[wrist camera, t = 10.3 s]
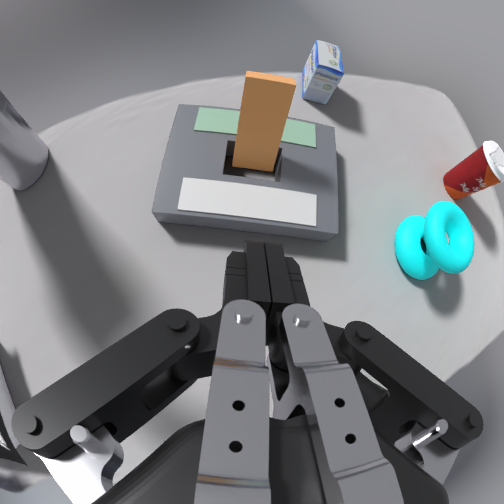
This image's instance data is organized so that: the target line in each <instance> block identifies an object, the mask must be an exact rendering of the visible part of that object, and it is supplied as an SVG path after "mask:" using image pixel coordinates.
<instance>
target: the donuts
mask: <svg viewBox="0 0 504 504" xmlns="http://www.w3.org/2000/svg"><path fill="white" fill-rule="evenodd" d="M445 231H446V233H447V235H448V237H449V243H448V241H447V238H446V233H445ZM421 238H422V239H423V240H424V242H425V245H426V254H425V253H424V252H423V250H422V248H421V243H420V242H421ZM395 252H396V256H397V259H398V261H399V263H400V265H401V267H402V268H403V270H404V271H405V272H406V273H407V274H408V275H410V276H411V277H413V278H415V279H419V280H424V279H428V278H430V277H432V276H433V275H435V274H436V272H437V271H438V270H439V268H440V269H441V270H443V271H445V272H447V273H450V274H456V273H460V272H462V271H464V270H465V269H466V268H467V267H468V265H469V264H470V262H471V260H472V257H473V253H474V235H473V231H472V227H471V224H470V222H469V220H468V218H467V216H466V215H465V213H464V212H463V211H462V210H461V209H460V208H459V207H458V206H457V205H456V204H454V203H452V202H449V201H440V202H437V203H436V204H434V205H433V206H432V207H431V208H430V209H429V211H428V213H427V215H426V218H425V217H422V216H417V215H415V216H410V217H408V218H406V219H404V220H403V221H402V222H401V224H400V225H399V227H398V229H397V231H396V235H395Z"/></svg>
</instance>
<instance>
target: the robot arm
mask: <svg viewBox="0 0 504 504" xmlns="http://www.w3.org/2000/svg"><path fill="white" fill-rule="evenodd" d="M47 160H48V148H47V146H46V144H45V143H44V142H43V141H42V140H41V139H40V137H39V136H38V135H37V134H36V133H35V132H34V130H33V129H32V128H31V127H30V126H29V125H28V123H27V122H26V121H25V120H24V119H23V117H22V116H21V115H20V114H19V113H18V111H17V110H16V109H15V108H14V106H13V105H12V104H11V103H10V101H9V100H8V99H7V98H6V96H5V95H4V94H3V93H2V91H1V90H0V179H1V180H2V181H4V182H5V183H6V184H8V185H9V186H11V187H12V188H13V189H15V190H20V191H21V190H25V189H27V188H29V187H30V186H31V185H33V184H34V183H35V182H36V181H37V180H38V178H39V177H40V175H41V174H42V172H43V171H44V169H45V166H46V164H47ZM265 346H268V347H269V354H268V357H267V361H266V363H267V366H266V365H265ZM361 369H364V370H365V371H366V372H367V373H369V374H370V375H371V376H372V377H374V378H375V379H376V380H377V381H378V382H380V383H381V384H382V385H383V386H385V387H386V388H387V389H388V390H387V391H385V390H382V389H380V388H379V387H378V386H377V385H375V384H374V383H373V382H372V381H371V380H369V379H368V378H367V377H366V376H364V375H363V374H362V373H361V372H360V370H361ZM208 376H212V377H211V384H210V391H209V398H208V404H207V411H206V418H205V419H204V420H200V421H196V422H193V423H191V424H188V425H186V426H185V427H183V428H181V429H179V430H178V431H177V432H175V433H174V434H173V435H172V436H170V437H169V438H168V439H167V440H166V441H165V442H164V443H163V444H162V445H161V446H160V447H159V448H157V449H156V450H155V451H154V452H153V453H152V454H151V455H150V456H148V457H147V458H146V459H145V460H144V461H143V462H142V463H140V464H139V465H138V466H137V467H136V468H135V469H133V470H132V471H131V472H130V473H129V474H128V475H126V476H125V477H124V478H123V479H122V480H120V481H119V482H118V483H117V484H115V485H114V486H113V483H112V480H113V476H114V473H115V472H116V471H117V469H118V468H119V467H120V466H121V465H122V463H123V459H124V453H123V449H122V446H121V445H120V443H121V442H122V441H123V440H125V439H126V438H127V437H129V436H130V435H131V434H133V433H134V432H135V431H136V430H138V429H139V428H140V427H142V426H143V425H144V424H145V423H147V422H148V421H149V420H150V419H152V418H153V417H154V416H155V415H156V414H158V413H159V412H160V411H161V410H163V409H164V408H165V407H166V406H167V405H169V404H170V403H171V402H172V401H173V400H175V399H176V398H177V397H178V396H179V395H181V394H182V393H183V392H184V391H185V390H186V389H188V388H189V387H190V386H191V385H192V384H193V383H194V382H195V381H196V380H197V379H198V378H203V377H208ZM269 381H270V386H271V392H272V398H273V404H274V410H273V418H270V417H269ZM11 426H12V431H13V434H14V436H15V438H16V439H17V441H18V442H19V443H20V444H21V445H23V446H24V447H26V448H27V449H29V450H30V451H32V452H34V453H35V454H36V455H37V456H39V457H40V458H41V459H42V460H43V462H44V463H45V465H46V466H47V468H48V469H49V471H50V472H51V474H52V475H53V477H54V478H55V479H56V481H57V482H58V483H59V485H60V486H61V487H62V489H63V490H64V491H65V493H66V494H67V495H68V496H69V498H70V499H71V500H72V501H73V503H74V504H449V498H448V495H447V492H446V490H445V488H444V487H443V483H444V481H445V479H446V477H447V475H448V473H449V471H450V469H451V467H452V465H453V463H454V461H455V458H456V456H457V454H458V452H459V450H460V448H462V447H463V446H465V445H466V444H468V443H470V442H471V441H473V440H474V439H476V438H477V437H479V436H480V434H481V433H482V430H483V419H482V416H481V414H480V412H479V411H478V410H477V409H476V408H475V407H474V406H473V405H471V404H470V403H469V402H468V401H466V400H465V399H464V398H463V397H461V396H460V395H459V394H457V393H456V392H455V391H454V390H453V389H451V388H450V387H449V386H448V385H446V384H445V383H444V382H443V381H441V380H440V379H439V378H438V377H436V376H435V375H434V374H432V373H431V372H430V371H429V370H427V369H426V368H425V367H424V366H422V365H421V364H420V363H418V362H417V361H416V360H415V359H413V358H412V357H411V356H410V355H408V354H407V353H406V352H404V351H403V350H402V349H401V348H399V347H398V346H397V345H395V344H394V343H393V342H392V341H390V340H389V339H388V338H386V337H385V336H384V335H382V334H381V333H380V332H379V331H377V330H376V329H375V328H373V327H372V326H371V325H369V324H367V323H365V322H362V321H352V322H350V323H348V324H347V325H346V327H345V329H344V328H340V327H337V326H333V325H330V324H327V323H325V322H323V321H322V318H321V316H320V314H319V313H318V312H317V311H316V310H315V309H313V308H312V307H310V303H309V299H308V295H307V292H306V288H305V285H304V282H303V277H302V275H301V270H300V267H299V265H298V263H297V262H296V261H295V260H294V259H293V258H292V257H284V253H283V248H282V245H281V244H272V243H264V244H263V243H262V242H253V241H246V242H245V247H244V252H235V251H232V252H231V254H230V255H229V256H228V257H227V262H226V270H225V279H224V288H223V305H222V309H221V310H220V311H219V312H217V313H216V314H214V315H212V316H208V317H203V318H197V317H196V316H195V315H194V314H192V313H191V312H189V311H187V310H184V309H170V310H166V311H164V312H162V313H161V314H159V315H158V316H156V317H155V318H153V319H151V320H150V321H148V322H147V323H145V324H144V325H142V326H141V327H139V328H138V329H136V330H135V331H133V332H132V333H130V334H129V335H127V336H126V337H124V338H122V339H121V340H119V341H118V342H116V343H115V344H113V345H112V346H110V347H109V348H107V349H106V350H104V351H103V352H101V353H99V354H98V355H96V356H95V357H93V358H92V359H90V360H89V361H87V362H86V363H84V364H83V365H81V366H80V367H78V368H77V369H75V370H73V371H72V372H70V373H69V374H67V375H66V376H64V377H63V378H61V379H60V380H58V381H57V382H55V383H54V384H52V385H50V386H49V387H47V388H46V389H44V390H43V391H41V392H40V393H38V394H37V395H35V396H34V397H32V398H30V399H29V400H27V401H26V402H24V403H23V404H21V405H20V406H19V407H18V408H17V409H16V410H15V411H14V413H13V416H12V421H11Z"/></svg>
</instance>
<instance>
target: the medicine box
mask: <svg viewBox="0 0 504 504" xmlns="http://www.w3.org/2000/svg"><path fill="white" fill-rule="evenodd" d="M343 74H344V71H343V64H342V58H341V52H340V47H338V46H335V45H333V44H330V43H327V42H323V41H319V40H316V42H315V44H314V46H313V49H312V51H311V53H310V55H309V58H308V60H307V62H306V65H305V67H304V69H303V90H302V98H303V99H307V100H310V101H314V102H317V103H321V104H325V105H326V104H327V102H328V101H329V99H330V97H331V95H332V94H333V92H334V90H335V89H336V87H337V85H338V83H339V82H340V80H341V78H342V77H343Z"/></svg>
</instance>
